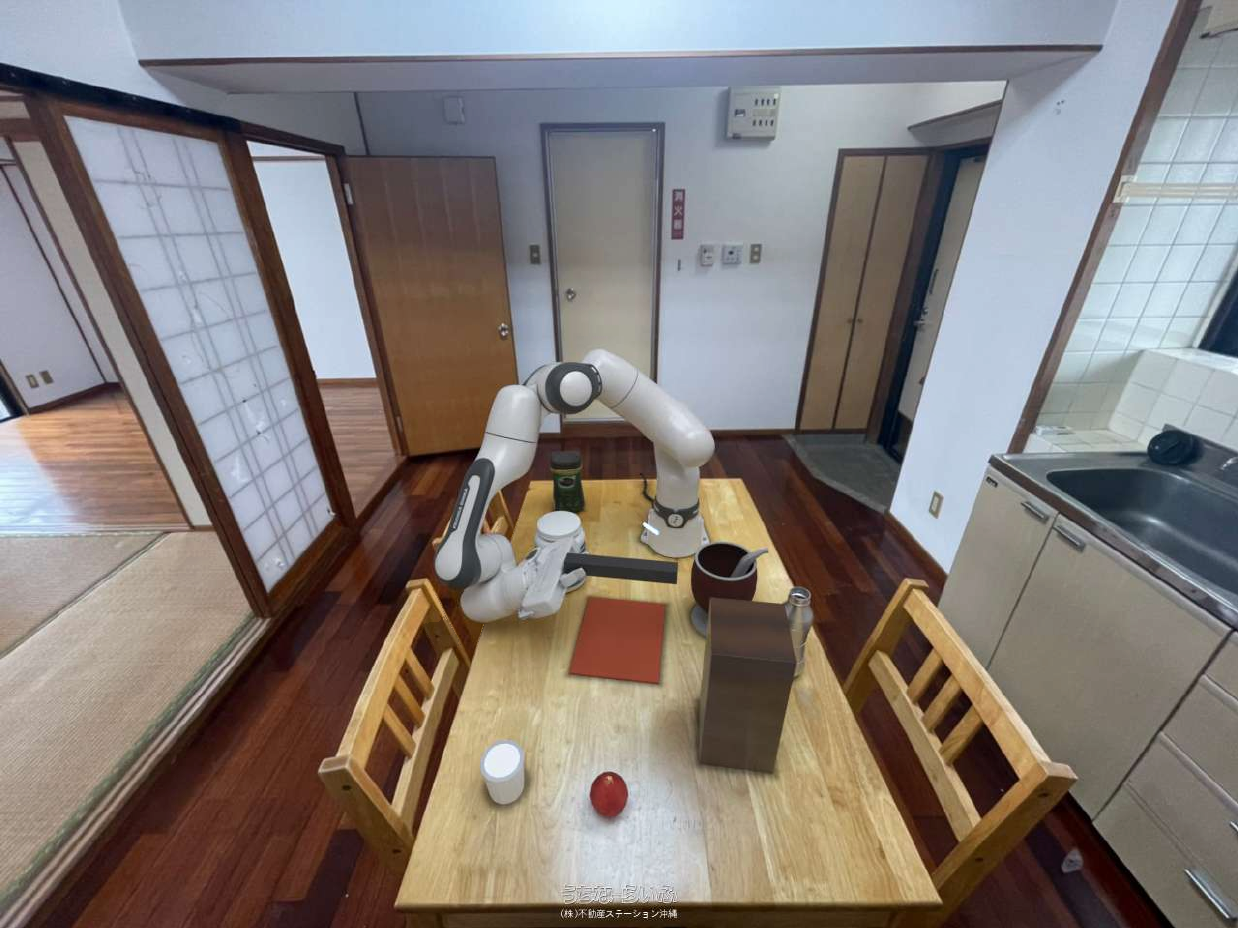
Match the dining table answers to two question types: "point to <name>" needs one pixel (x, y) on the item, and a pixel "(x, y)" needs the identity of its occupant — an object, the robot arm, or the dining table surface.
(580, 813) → the dining table surface
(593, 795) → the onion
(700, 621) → the mate gourd
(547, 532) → the supplement tub
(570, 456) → the coffee jar
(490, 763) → the white short cylinder
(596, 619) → the baking mat
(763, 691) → the tall wooden block
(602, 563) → the handle
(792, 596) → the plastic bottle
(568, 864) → the dining table surface
